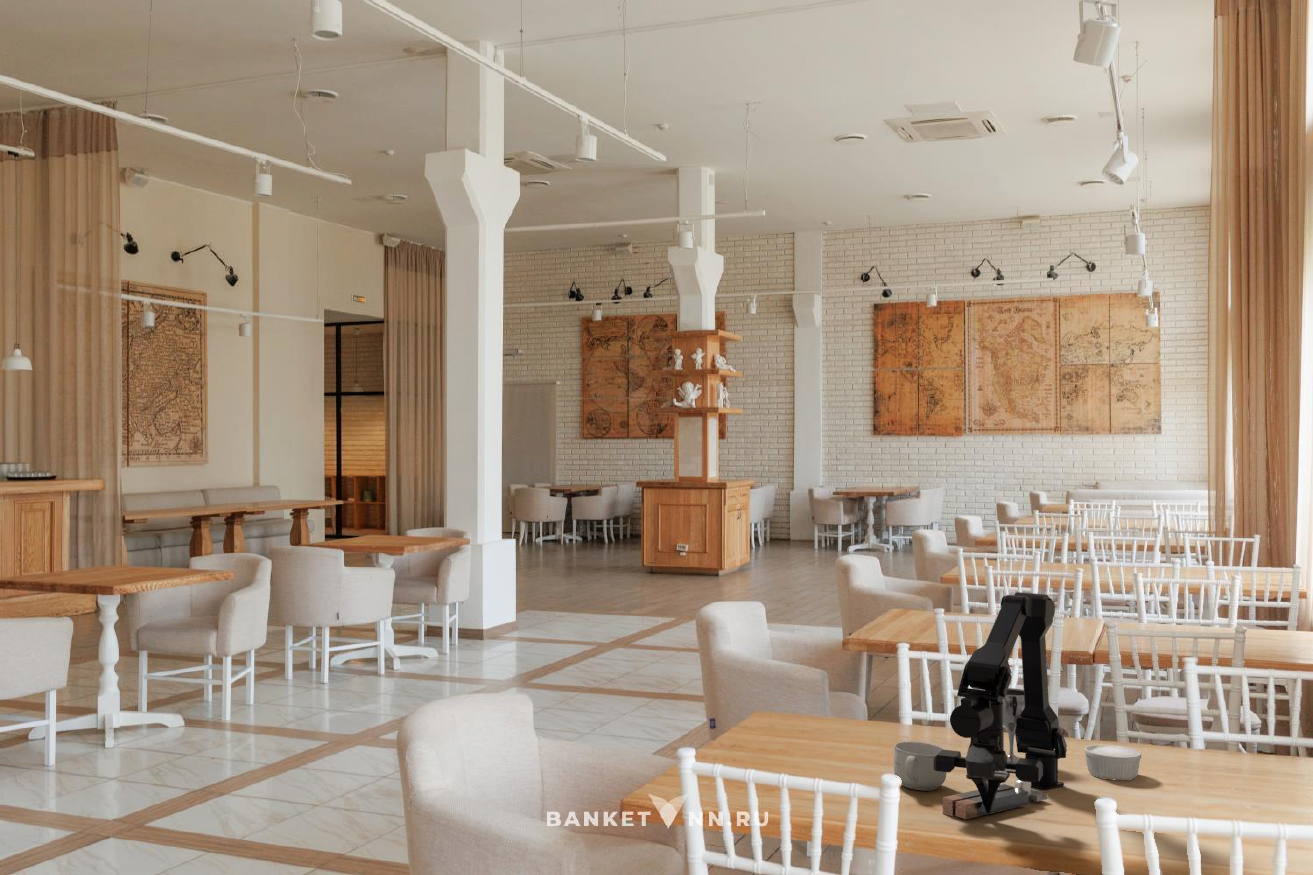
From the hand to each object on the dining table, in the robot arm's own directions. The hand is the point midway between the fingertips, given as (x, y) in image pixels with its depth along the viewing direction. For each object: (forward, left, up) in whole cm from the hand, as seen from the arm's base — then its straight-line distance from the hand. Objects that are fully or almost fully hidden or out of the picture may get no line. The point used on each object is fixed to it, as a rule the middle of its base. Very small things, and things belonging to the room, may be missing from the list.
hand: (988, 812), depth 211 cm
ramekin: (-47, -7, -2) cm, 47 cm away
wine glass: (-38, -26, -2) cm, 46 cm away
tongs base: (-7, -4, -1) cm, 8 cm away
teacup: (-4, -21, -2) cm, 21 cm away
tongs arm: (-4, -3, -1) cm, 5 cm away
